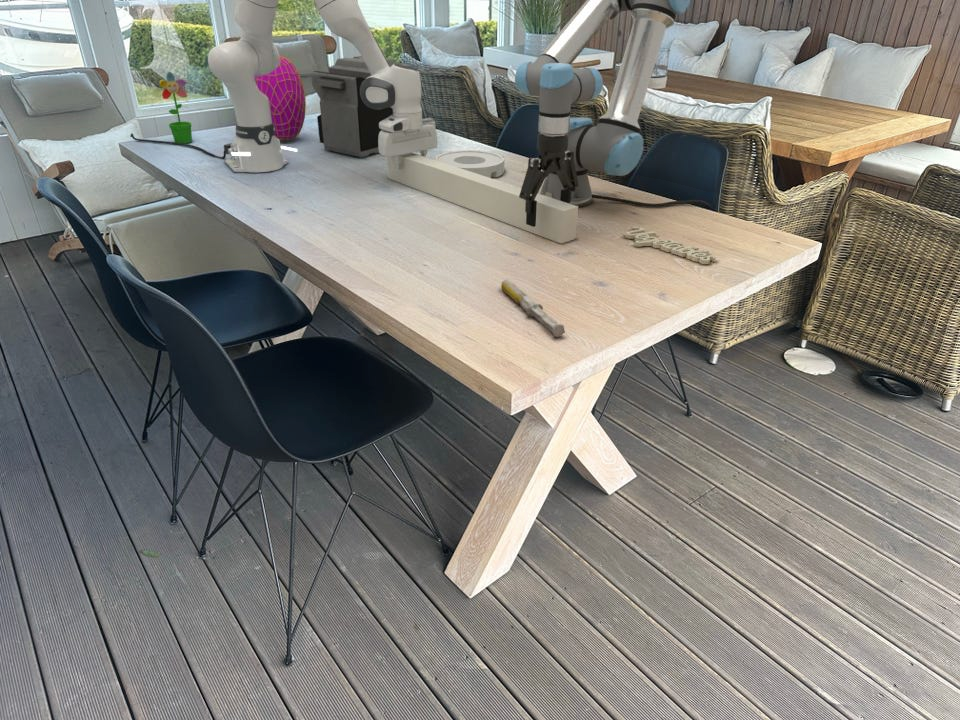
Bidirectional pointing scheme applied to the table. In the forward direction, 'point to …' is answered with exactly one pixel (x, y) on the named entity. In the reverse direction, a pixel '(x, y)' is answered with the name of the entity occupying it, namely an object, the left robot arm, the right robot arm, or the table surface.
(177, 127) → the potted flower
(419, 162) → the post
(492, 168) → the ashtray
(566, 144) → the right robot arm
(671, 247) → the decorative sign
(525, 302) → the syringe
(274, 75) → the decorative egg
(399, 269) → the table surface
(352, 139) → the cooler box
